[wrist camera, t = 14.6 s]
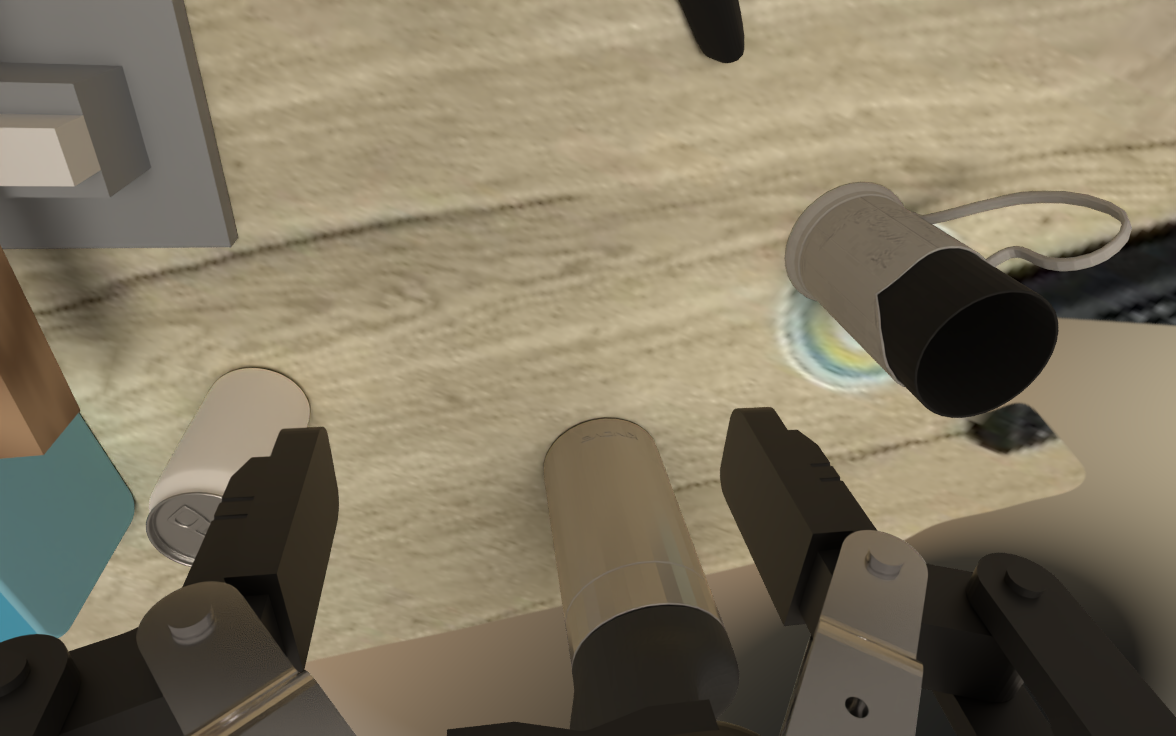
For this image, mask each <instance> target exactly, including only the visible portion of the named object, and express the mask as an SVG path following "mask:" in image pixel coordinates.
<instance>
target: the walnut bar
mask: <svg viewBox="0 0 1176 736" xmlns="http://www.w3.org/2000/svg"><path fill="white" fill-rule="evenodd" d="M79 412H80V408H79V406H78V404H77V402H76V400H75V398H74V396H73V394H72V392H71V390H70V388H69V386H68V384H67V382H66V379H65V377H64V375H63V373H62V371H61V369H60V367H59V365H58V363H57V361H56V359H55V357H54V355H53V353H52V351H51V349H50V346H49V344H48V342H47V340H46V338H45V336H44V334H43V332H42V330H41V328H40V326H39V324H38V322H37V320H36V318H35V315H34V313H33V311H32V309H31V307H30V305H29V303H28V301H27V299H26V297H25V295H24V293H23V291H22V289H21V287H20V284H19V282H18V280H17V278H16V276H15V274H14V272H13V270H12V268H11V266H10V264H9V262H8V260H7V258H6V256H5V253H4V251H3V249H2V247H1V245H0V459H3V458H15V457H27V456H39V455H44V454H45V453H46V452H47V450H48V449H49V448H50V447H51V446H52V444H53V443H54V442H55V441H56V439H57V438H58V437H59V436H60V435H61V433H62V432H63V431H64V430H65V429H66V427H67V426H68V425H69V424H70V422H71V421H72V420H73V419H74V418H75V416H76V415H77V414H78V413H79Z"/></svg>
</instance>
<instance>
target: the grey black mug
mask: <svg viewBox="0 0 1176 736" xmlns="http://www.w3.org/2000/svg"><path fill="white" fill-rule="evenodd" d="M1032 203H1065V204H1072V205H1078V206H1084V207H1088V208H1092V209H1095V210H1098V211H1101V212H1104V213H1107V214H1109V215H1111V216H1113V217H1114V218H1116V219H1117V220H1119V221H1120V222H1121V224H1122V226H1121V228H1120V231H1119V233H1118V234H1117V235H1116V236H1115V237H1114V238H1113V239H1112V240H1111V241H1110V242H1109V243H1108V244H1106V245H1105V246H1104V247H1102V248H1101V249H1099V250H1096V251H1094V252H1092V253H1090V254H1086V255H1082V256H1078V257H1072V258H1053V257H1047V256H1044V255H1041V254H1038V253H1036V252H1034V251H1032V250H1030V249H1027V248H1024V247H1019V246H1013V247H1007V248H1005V249H1002V250H1000V251H998V252H996V253H994V254H993V255H991V256H990V257H988V258H987V259H985V258H984V257H983V256H982V255H980V254H979V253H978V252H976V251H975V250H973V249H971V248H970V247H968V246H966V245H965V244H963V243H961V242H960V241H958V240H957V239H955V238H953V237H952V236H950V235H948V234H947V233H945V232H943V231H942V230H940V229H939V228H937V227H935V226H934V225H932V224H936V223H940V222H945V221H949V220H953V219H957V218H961V217H965V216H969V215H972V214H976V213H980V212H984V211H989V210H993V209H998V208H1003V207H1008V206H1014V205H1020V204H1032ZM1131 230H1132V227H1131V224H1130V221H1129V219H1128V216H1127V214H1126V212H1125V211H1124V210H1123V209H1121V208H1119V207H1118V206H1116V205H1115V204H1113V203H1111V202H1109V201H1106V200H1103V199H1100V198H1097V197H1094V196H1091V195H1086V194H1080V193H1073V192H1066V191H1029V192H1018V193H1013V194H1008V195H1003V196H999V197H995V198H991V199H987V200H982V201H978V202H974V203H971V204H967V205H963V206H959V207H956V208H952V209H948V210H944V211H940V212H936V213H931V214H926V215H920V214H917V213H915V212H911V211H909V210H907V209H906V208H904V205H903V204H902V202H901V201H900V199H899V198H898V197H897V196H896V195H895V194H894V193H893V192H892V191H891V190H889V189H887V188H886V187H884V186H882V185H878V184H875V183H869V182H856V183H849V184H846V185H842V186H839V187H837V188H835V189H833V190H830V191H828V192H827V193H825V194H824V195H822V196H821V197H819V198H818V199H816V200H815V201H814V202H813V203H812V204H811V205H810V206H808V208H807V209H806V210H805V211H804V212H803V213H802V215H801V216H800V217H799V219H798V220H797V222H796V223H795V225H794V227H793V229H792V231H791V233H790V235H789V238H788V242H787V245H786V252H785V266H786V271H787V274H788V277H789V279H790V281H791V283H792V284H793V286H794V287H795V288H796V289H797V290H798V291H799V292H800V293H801V294H803V295H804V296H806V297H807V298H810V299H812V300H814V301H818V302H819V303H820V304H821V305H822V306H823V307H824V308H825V309H826V310H827V311H828V313H829V314H830V315H831V316H832V317H833V318H834V319H835V320H836V321H837V322H838V323H839V324H840V325H841V326H842V327H843V328H844V329H845V330H846V331H847V332H848V333H849V334H850V335H851V336H852V337H853V338H854V339H855V340H856V341H857V342H858V343H859V344H860V345H861V346H862V348H863V349H864V350H865V351H866V352H867V353H868V354H869V355H870V356H871V357H872V358H873V359H874V360H875V361H876V362H877V363H878V364H879V365H880V366H881V367H882V368H883V369H884V370H885V371H886V372H887V373H888V374H889V375H890V376H891V377H892V378H893V379H894V380H895V381H896V383H898V384H900V385H901V386H903V387H906V388H907V389H908V390H909V391H910V392H911V393H912V394H913V395H914V396H915V397H916V398H917V399H918V400H919V401H920V402H921V403H922V404H923V405H924V406H925V407H926V408H927V409H929V410H930V411H932V412H933V413H936V414H938V415H941V416H945V417H951V418H964V417H970V416H976V415H979V414H982V413H986V412H988V411H991V410H993V409H995V408H998V407H999V406H1001V405H1003V404H1005V403H1006V402H1008V401H1010V400H1011V399H1013V398H1014V397H1015V396H1017V395H1018V394H1020V393H1021V392H1022V391H1023V390H1024V389H1025V388H1027V387H1028V386H1029V385H1030V384H1031V383H1032V382H1033V381H1034V380H1035V378H1036V377H1037V376H1038V375H1039V374H1040V373H1041V371H1042V370H1043V368H1044V367H1045V366H1046V364H1047V362H1048V361H1049V359H1050V357H1051V355H1052V353H1053V350H1054V348H1055V345H1056V342H1057V336H1058V319H1057V316H1056V312H1055V310H1054V309H1053V307H1052V305H1051V304H1050V303H1049V302H1048V301H1047V300H1046V299H1045V298H1044V297H1042V296H1041V295H1039V294H1037V293H1036V292H1034V291H1032V290H1031V289H1029V288H1028V287H1026V286H1024V285H1023V284H1021V283H1020V282H1018V281H1016V280H1015V279H1013V278H1011V277H1010V276H1008V275H1007V274H1005V273H1003V272H1002V271H1000V270H999V269H997V268H995V267H996V266H998V265H999V264H1001V263H1002V262H1004V261H1006V260H1009V259H1011V258H1022V259H1025V260H1027V261H1030V262H1032V263H1033V264H1035V265H1038V266H1040V267H1043V268H1046V269H1050V270H1057V271H1071V270H1080V269H1084V268H1088V267H1092V266H1095V265H1097V264H1099V263H1101V262H1104V261H1106V260H1108V259H1109V258H1110V257H1112V256H1113V255H1114V254H1116V253H1117V252H1119V250H1120V249H1121V248H1122V247H1123V246H1124V245H1125V244H1126V242H1127V241H1128V239H1129V236H1130V233H1131Z"/></svg>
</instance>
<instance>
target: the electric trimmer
mask: <svg viewBox="0 0 1176 736" xmlns="http://www.w3.org/2000/svg"><path fill="white" fill-rule="evenodd" d="M679 1H680V3H681V5H682V8H683V10H684V12H685V15H686V17H687V19H688V22H689V24H690V26H691V28H692V31H693V33H694V35H695V38H696V40H697V42H698V44H699V46H700V48H701V50H702V51H703V53H704V54H705V55H706V56H707V57H709V58H712V59H714V60H717V61H719V62H722V63H731V62H735V61H737V60H738V59H739V58H740V57H741V56H742V55H743V52H744V30H743V23H742V17H741V11H740V6H739V1H738V0H679Z"/></svg>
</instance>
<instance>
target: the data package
mask: <svg viewBox="0 0 1176 736" xmlns="http://www.w3.org/2000/svg"><path fill="white" fill-rule="evenodd" d="M133 516H134V500H133V497H132V494H131V492H130V491H129V489H128V488H127V486H126V484H125V483H124V481H123V480H122V478H121V477H120V475H119V474H118V472H117V471H116V469H115V468H114V466H113V465H112V463H111V461H110V460H109V458H108V457H107V455H106V454H105V452H104V451H103V449H102V448H101V446H100V445H99V443H98V442H97V440H96V438H95V437H94V435H93V434H92V432H91V431H90V429H89V428H88V426H87V425H86V423H85V422H84V420H83V419H82V417H81V415H80V414H79V413H78V414H77V415H76V416H75V418H74V419H73V420H72V421H71V422H70V424H69V425H68V426H67V427H66V429H65V430H64V431H63V432H62V433H61V435H60V436H59V437H58V438H57V439H56V441H55V442H54V443H53V444H52V446H51V447H50V448H49V449H48V450H47V452H46V453H45V454H44V455H39V456H27V457H15V458H3V459H0V642H3V641H6V640H8V639H12V638H15V637H18V636H23V635H29V634H46V635H50V636H54V637H56V638H59V637H61V636H63V635H64V634H65V633H66V632H67V631H68V630H69V629H70V627H71V625H72V624H73V622H74V620H75V618H76V617H77V615H78V613H79V612H80V610H81V608H82V606H83V605H84V603H85V601H86V599H87V598H88V596H89V594H90V593H91V591H92V589H93V587H94V586H95V584H96V582H97V580H98V579H99V577H100V575H101V573H102V572H103V570H104V568H105V567H106V565H107V563H108V561H109V560H110V558H111V556H112V554H113V553H114V551H115V549H116V548H117V546H118V544H119V542H120V541H121V539H122V537H123V535H124V534H125V532H126V530H127V528H128V527H129V525H130V523H131V521H132V519H133Z"/></svg>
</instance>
